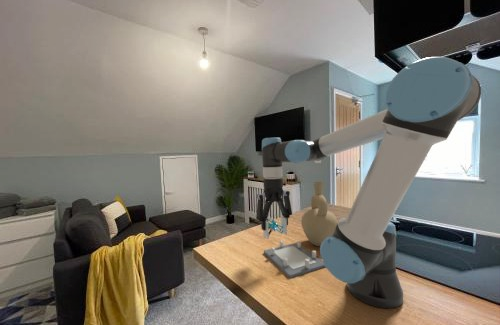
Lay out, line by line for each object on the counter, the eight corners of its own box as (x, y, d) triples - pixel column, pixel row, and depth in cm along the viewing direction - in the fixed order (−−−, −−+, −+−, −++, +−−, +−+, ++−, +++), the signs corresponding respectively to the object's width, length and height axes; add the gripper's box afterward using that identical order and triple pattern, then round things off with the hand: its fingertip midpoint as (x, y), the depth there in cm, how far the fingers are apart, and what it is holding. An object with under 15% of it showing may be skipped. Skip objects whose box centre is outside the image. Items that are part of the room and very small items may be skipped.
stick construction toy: (287, 228, 80) (272, 215, 80) (278, 243, 77) (262, 231, 77) (275, 229, 91) (261, 218, 91) (267, 243, 88) (252, 231, 88)
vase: (344, 250, 93) (343, 184, 92) (307, 252, 93) (305, 185, 91) (329, 236, 110) (328, 179, 108) (298, 237, 110) (296, 180, 108)
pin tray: (327, 266, 81) (326, 256, 80) (289, 278, 74) (289, 267, 74) (295, 245, 100) (295, 236, 100) (263, 253, 94) (263, 243, 93)
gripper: (288, 174, 88) (291, 227, 89) (244, 179, 80) (247, 238, 80) (300, 176, 82) (302, 233, 82) (253, 181, 73) (256, 245, 74)
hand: (275, 235), depth 81 cm, fingers closed on stick construction toy, 8 cm apart
